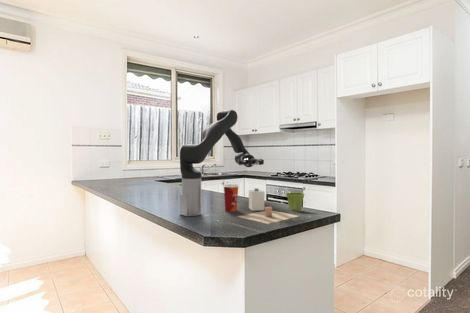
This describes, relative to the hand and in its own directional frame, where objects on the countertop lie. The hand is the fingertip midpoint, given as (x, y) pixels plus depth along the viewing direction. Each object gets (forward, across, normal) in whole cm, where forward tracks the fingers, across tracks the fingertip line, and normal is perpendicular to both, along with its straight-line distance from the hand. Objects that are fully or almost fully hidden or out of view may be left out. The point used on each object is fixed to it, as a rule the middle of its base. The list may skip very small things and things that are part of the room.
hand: (253, 163), depth 154 cm
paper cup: (+13, -14, +23) cm, 30 cm away
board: (+28, +1, +22) cm, 35 cm away
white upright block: (+11, -1, +23) cm, 26 cm away
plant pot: (+14, +19, +24) cm, 33 cm away
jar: (+28, +1, +21) cm, 35 cm away
